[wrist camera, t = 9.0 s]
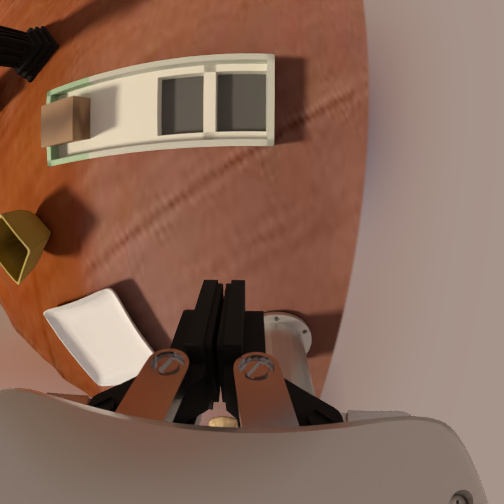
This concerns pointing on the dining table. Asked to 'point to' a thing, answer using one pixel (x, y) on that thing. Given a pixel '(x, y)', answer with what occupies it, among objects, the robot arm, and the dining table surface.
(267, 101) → the tray
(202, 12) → the dining table surface
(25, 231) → the flower pot
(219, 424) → the hand bell
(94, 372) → the salad plate
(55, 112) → the walnut block
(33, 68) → the chess piece
